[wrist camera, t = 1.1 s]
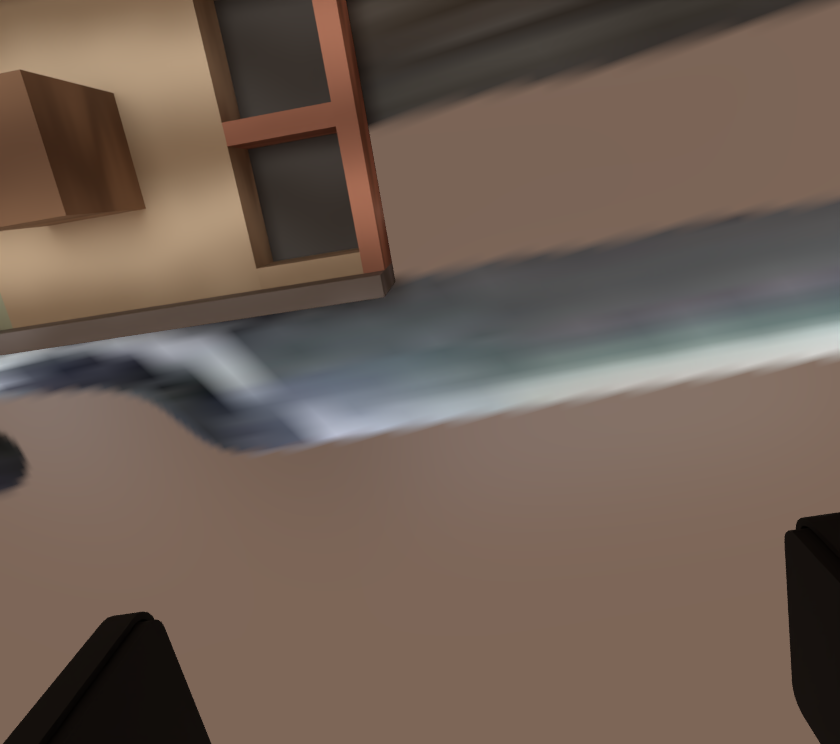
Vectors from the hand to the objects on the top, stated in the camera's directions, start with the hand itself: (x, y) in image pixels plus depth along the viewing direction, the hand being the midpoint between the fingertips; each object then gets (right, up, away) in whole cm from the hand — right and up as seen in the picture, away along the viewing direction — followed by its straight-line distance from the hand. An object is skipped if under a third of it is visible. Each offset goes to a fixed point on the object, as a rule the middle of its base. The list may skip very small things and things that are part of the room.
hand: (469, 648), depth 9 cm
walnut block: (-16, +14, +19) cm, 29 cm away
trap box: (-17, +14, +22) cm, 31 cm away
